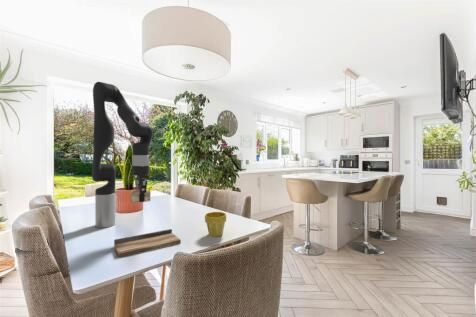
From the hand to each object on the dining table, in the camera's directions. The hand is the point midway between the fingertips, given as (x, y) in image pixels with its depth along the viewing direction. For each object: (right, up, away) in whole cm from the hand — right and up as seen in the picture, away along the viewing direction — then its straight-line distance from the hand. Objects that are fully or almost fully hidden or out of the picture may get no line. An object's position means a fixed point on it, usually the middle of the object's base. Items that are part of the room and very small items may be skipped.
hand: (140, 200), depth 107 cm
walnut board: (+8, -17, -11) cm, 22 cm away
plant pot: (+35, -17, +2) cm, 39 cm away
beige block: (0, 0, 0) cm, 0 cm away
